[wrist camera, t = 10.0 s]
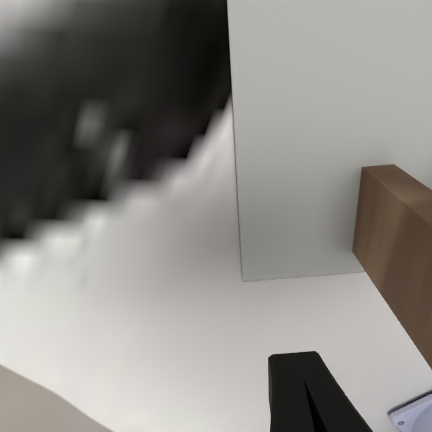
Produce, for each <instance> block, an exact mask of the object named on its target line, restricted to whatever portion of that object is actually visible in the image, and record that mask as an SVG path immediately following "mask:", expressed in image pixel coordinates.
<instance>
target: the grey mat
mask: <svg viewBox="0 0 432 432" xmlns="http://www.w3.org/2000/svg"><path fill="white" fill-rule="evenodd" d="M227 11H228V29H229V47H230V65H231V84H232V102H233V120H234V138H235V156H236V174H237V192H238V210H239V228H240V246H241V264H242V280H243V282H249V281H261V280H273V279H285V278H297V277H310V276H322V275H334V274H346V273H359V272H366V271H365V270H364V268H363V267H362V265H361V264H360V263H359V261H358V260H357V258H356V257H355V255H354V254H353V252H352V248H353V239H354V231H355V222H356V213H357V205H358V196H359V187H360V179H361V170H362V167H366V166H378V165H390V164H395V165H396V166H398V167H399V168H400V169H402V170H403V171H405V172H406V173H408V174H409V175H411V176H412V177H413V178H415V179H416V180H418V181H419V182H421V183H422V184H424V185H425V186H426V187H428V188H429V189H431V190H432V0H227Z"/></svg>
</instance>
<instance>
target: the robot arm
mask: <svg viewBox="0 0 432 432" xmlns="http://www.w3.org/2000/svg"><path fill="white" fill-rule="evenodd" d="M268 374H269V404H270V412H271V425H270V432H373V431H372V430H371V428H370V427H369V426H368V424H367V423H366V422H365V420H364V419H363V418H362V417H361V415H360V414H359V413H358V411H357V410H356V409H355V407H354V406H353V405H352V403H351V402H350V400H349V399H348V398H347V396H346V395H345V393H344V392H343V390H342V389H341V388H340V386H339V385H338V383H337V382H336V380H335V379H334V377H333V376H332V374H331V373H330V371H329V370H328V368H327V367H326V365H325V363H324V362H323V360H322V358H321V357H320V355H319V354H318V353H317V352H316V351H311V352H298V353H286V354H274V355H271V356H270V357H269V358H268ZM389 418H390V420H391V422H392V423H393V424H394V425H395V426H396V427H397V428H398V429H399V430H400V431H401V432H432V394H430V395H427V396H425V397H423V398H421V399H419V400H417V401H415V402H413V403H411V404H409V405H407V406H405V407H403V408H401V409H399V410H396V411H394V412H392V413H391V414H390V416H389Z"/></svg>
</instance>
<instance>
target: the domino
mask: <svg viewBox="0 0 432 432" xmlns="http://www.w3.org/2000/svg"><path fill="white" fill-rule="evenodd" d="M352 252H353V254H354V255H355V257H356V258H357V260H358V261H359V263H360V264H361V265H362V267H363V268H364V270H365V271H366V273H367V274H368V276H369V277H370V279H371V280H372V282H373V283H374V285H375V286H376V288H377V289H378V291H379V292H380V294H381V295H382V297H383V298H384V300H385V301H386V302H387V304H388V305H389V307H390V308H391V310H392V311H393V313H394V314H395V316H396V317H397V319H398V320H399V322H400V323H401V325H402V326H403V328H404V329H405V331H406V332H407V334H408V335H409V336H410V338H411V339H412V341H413V342H414V344H415V345H416V347H417V348H418V350H419V351H420V353H421V354H422V356H423V357H424V359H425V360H426V362H427V363H428V365H429V366H430V368H431V369H432V190H431V189H429V188H428V187H426V186H425V185H424V184H422V183H421V182H419V181H418V180H416V179H415V178H413V177H412V176H411V175H409V174H408V173H406V172H405V171H403V170H402V169H400V168H399V167H398V166H396V165H395V164H390V165H378V166H366V167H362V170H361V179H360V187H359V196H358V205H357V213H356V222H355V231H354V239H353V248H352Z"/></svg>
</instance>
